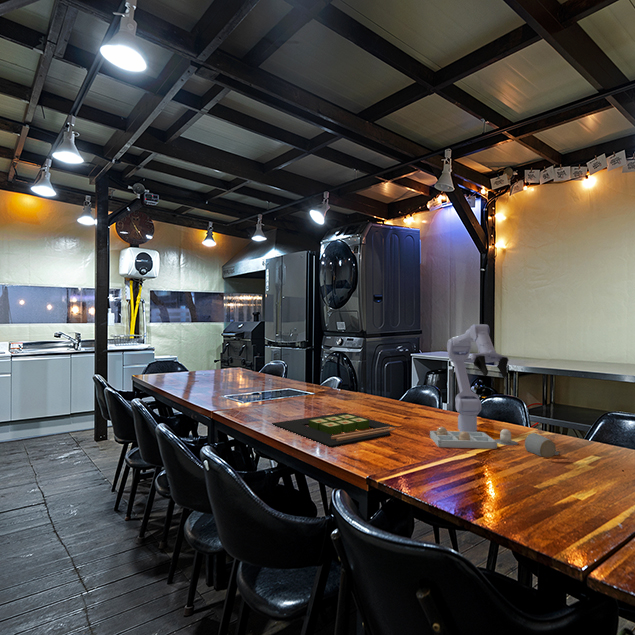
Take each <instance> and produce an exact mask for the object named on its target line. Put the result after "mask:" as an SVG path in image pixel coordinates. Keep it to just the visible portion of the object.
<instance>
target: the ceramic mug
mask: <svg viewBox="0 0 635 635" xmlns="http://www.w3.org/2000/svg"><path fill="white" fill-rule="evenodd" d="M524 448H525V450H526V452H529V453H532V454H535V455H537V456H539V457H541V458H550V457H554V456H558V455H559V454H560V453H559V451H557V447H556V444H555V442H554V441H552V440H551V439H549V438H547V437H545V436H543V435H541V434H539V433H535V432H532V433H529V434H528V435H527V436H526V438H525V440H524Z"/></svg>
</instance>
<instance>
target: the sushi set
mask: <svg viewBox="0 0 635 635" xmlns="http://www.w3.org/2000/svg"><path fill="white" fill-rule="evenodd" d="M272 424H273V425H275V426H274V427H276V426H277V427H276V428H279V427H280V428H279V429H281V428H283V429H282V430H284V429H285V430H284V431H286V430H288V431H287V432H289V431H290V432H289V433H291V432H293V433H292V434H294V433H296V434H295V435H297V434H298V435H297V436H299V435H301V436H300V437H302V436H303V437H302V438H304V437H306V438H305V439H307V438H308V439H307V440H309V439H311V440H310V441H312V440H313V442H314V441H316V442H315V443H317V442H319V443H318V444H320V443H321V444H320V445H322V444H323V445H322V446H325V445H326V446H325V447H327V446H328V448H330V447H332V448H336V446H337V447H342V446H345V445H346V446H347V445H353V444H356V443H361V442H367V441H370V440H376V439H380V437H381V438H385V436H386V437H390V436H389V435H391V436H392V434H391V431H395V430H396V428H399V426H398V425H395V424H389V423H387V422H382V421H379V420H375V419H371V418H368V417H367V418H366V417H363V416H360V415H356V414H353V413H349V412H339V413H333V414H325V415H318V416H311V417H304V418H299V419H298V418H297V419H291V420H285V421H284V420H283V421H277V422H276V421H275V422H272V423H271V425H272ZM273 425H272V426H273ZM305 425H308V426H305ZM369 427H370V428H369ZM365 428H367V429H365ZM372 428H373V429H372ZM356 429H357V430H356ZM360 429H362V430H360ZM355 430H356V431H355ZM350 431H351V432H350ZM343 432H345V433H343ZM338 433H340V434H338ZM342 433H343V434H342ZM332 434H334V435H332ZM341 445H342V446H341Z"/></svg>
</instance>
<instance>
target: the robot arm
mask: <svg viewBox="0 0 635 635" xmlns="http://www.w3.org/2000/svg"><path fill="white" fill-rule="evenodd" d="M490 330H491V329H490V326H489V325H488V324H486V323H485V324H482V323H480V324H476V323H473V324H472V325H470V327H469V328H468V329H467V330H465V332H464V333H463V334H460V335H457V336H453V337H451V338H449V339H448V340H447V343H446V350H447V355H448V358H449V359H450V360H452V363H453V366H454V367H453V368H454V372H455V376H456V380H457V386H458V389H459V390H458V391H459V393H458V394H456V396H455V397H454V398H455V399H454V400H455V410H456V411H457V413H458V416H457V430H458V431H460V432H463V431H465V432H478V424H477V423H478V415H479V413H481V411H482V402H481V400H480V398H479V395H478V394H477V393H475V392H474V391H472V388H471V384H470V381H469V376H468V372H467V368H466V363H465V360H469V356H470V359H471V361H473V365H474V366H475V367H476V368H477V369H479V370H480V372H481V374H483V376H484V377H487V375H488V374H489V370H488V367H487V364H489V363H496V362H498V363H497V366H496V367H497V369H498V370H499V371H500V374H501V377H502V378H503V379H506V377H507V376H508V363H509V361H510V360H509V357H508V356H505V355H502V354H500V353H498V352H497V351H496V350H495V347H494V345H493V343H492V339H491V337H490ZM471 342H475V343H476V347H477V350H478V353H477V352H476V353H471V350H472V343H471ZM470 354H471V355H470Z"/></svg>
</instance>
